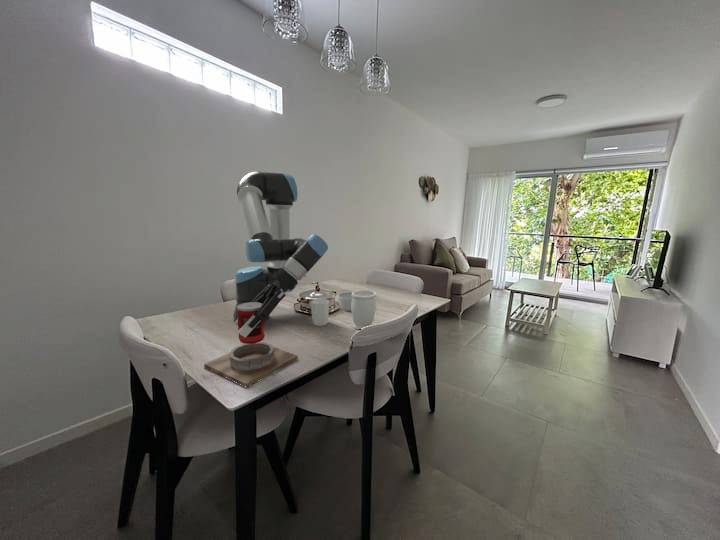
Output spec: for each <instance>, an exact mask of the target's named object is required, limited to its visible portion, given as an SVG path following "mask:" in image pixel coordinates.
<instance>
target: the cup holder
mask: <svg viewBox="0 0 720 540" xmlns="http://www.w3.org/2000/svg"><path fill="white" fill-rule="evenodd" d="M296 359H297V360H299V356H298V355H297V354H294V353H292V352H289V351H286V350H283V349H280V348H277V347H275V346H273V344H271V343H268V342H265V341H263V342H262V341H260V342H258V343H253V344H245V343H242V344H240V345H237V346H236V347H234V348H233V349H231V350H230V352H229V353H226V354H224V355H222V356H220V357H217V358H214V359H212V360H209V361H207V362H205V363H204V364H203V368H205V367H206V368H205V369H207V368H208V369H207V370H209V369H210V371H211V370H212V371H211V372H213V371H214V372H213V373H215V372H216V373H215V374H217V373H218V374H217V375H219V374H220V375H219V376H221V375H222V376H221V377H223V376H224V377H223V378H225V377H227V378H229V379H231V380H233V381H235V382H237V383H239V384H241V385H243V386H246V387H247V386H249V385H251V384H253V383H254V382H256V381H258V380H260V379H262V378H263V379H265V378H266V376H267V377H268V375H269V376H270V375H272V374H274V373H275V371H276V372H277V371H279V370H281V369H282V367H283V368H284V367H286V366H288V365H289V363H290V364H292V363H293V362H295V361H297V360H296ZM294 360H295V361H294ZM292 361H293V362H292ZM291 362H292V363H291ZM280 368H281V369H280ZM278 369H279V370H278ZM273 372H274V373H273ZM264 377H265V378H264ZM227 378H226V379H227ZM229 379H228V380H229ZM263 379H262V380H263ZM231 380H230V381H231ZM233 381H232V382H233ZM260 381H261V380H260ZM235 382H234V383H235ZM258 382H259V381H258ZM237 383H236V384H237ZM256 383H257V382H256ZM239 384H238V385H239ZM254 384H255V383H254ZM254 384H253V385H254ZM241 385H240V386H241ZM243 386H242V387H243ZM251 386H252V385H251ZM249 387H250V386H249ZM247 388H248V387H247Z"/></svg>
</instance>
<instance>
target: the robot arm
mask: <svg viewBox="0 0 720 540" xmlns="http://www.w3.org/2000/svg"><path fill="white" fill-rule="evenodd" d="M236 195H237V199H238V201H239V202H240V204H241V206H242V210H243V215H244V218H245V222H246V228H247V231H248V236H249V240H247V241H246V242H245V253H246V254H245V255H246V260H247V261H248V262H249V263H266V262H267V265H266V266H267V267H266V269H264V268H263V266H260V265H257V266H247V267H243V268H240V269H238V270H237V271H236V272H235V274H234V275H235V278H234V279H235V280H234V283H235V297H236V305H235V307H234V312H233V314H232V319H233V322H234V324H235V325H236V326H238V318H237V306H238V305H240V304H243V303H247V302H259V303H262V306H261V307H260V308H259V310H258V311H257V313H253V316H252V317H251V318H250V319H249V320H248V321H247V322H246V323H245V324H244V325H243V326H242V328H241V329H240V330H239V331H238V330H237V334H238V335H239V334H240V335H242V336H243V337H246V336H247V335H248V334H249V333H250V332H251V331H252V330H253V329H254V327H255V326H256V325H257V324H258V323H259V322H260V321H262V320H263V321H264V322H265V321H266V320H267V319H268V318H269V316H270V315H271V314H272V312H273V311H274V310H275V308H276V307H277V306H278V305H279V303H280V302H281V301H283V299H285V297H286V296H287V294H286V293H291V292H293V291H294V290H295V288H296V286H298V284H299V282H300V281H302V279H303V278H305V277H307V275H306V274H308V273H309V272H310V271H311V269H312V268H313V267H314V266H315V265H316V264H317V262H319V260H320V259H321V258H323V256H324V255H325V254H326V253H327V251H328V250H329V246H328V244H327V242H326V241H325V240H324V238H322V237H321V236H320V235H318V234H316V233H312V234H311V235H309V236H308V237H306V239H304V238H299V237H298V238H293V239H291V238H290V233H291V232H290V231H291V230H290V210H291V208H292V207H294V203H295V202H296V201H297V200H298V186H297V183H296V180H295V177H294V176H292V175H291V174H286V173H281V172H279V173H278V172H268V171H267V172H265V171H251V172H249V173H246V175H244V176H243V177H242V178H241V179H240V181H239V183H238V184H237V187H236ZM263 201H265V205H266V206H267V207H268V209H269V220H268V216H267V213H266V211H265V210H266V209H265V207H264V203H263ZM298 281H299V282H298Z"/></svg>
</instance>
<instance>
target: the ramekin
mask: <svg viewBox="0 0 720 540" xmlns="http://www.w3.org/2000/svg"><path fill="white" fill-rule="evenodd" d="M352 292H353V291H347V292H341V293H338V295H337V298H338V306H339V308H340V310H342V311H345V310H346V311H347V312H352V311H351V303H352V298H353V297H352ZM346 311H345V312H346Z"/></svg>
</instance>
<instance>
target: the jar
mask: <svg viewBox="0 0 720 540" xmlns="http://www.w3.org/2000/svg"><path fill="white" fill-rule="evenodd" d="M351 292H352V297H353V298H352V303H351V311H350V312H351V317H352V320H353V328H354V329H355V330H359V329H361V328H363V327H366V326H369V325H373V321H374V319H375V314H376V306H377V303H376V297H377V293H376V292H375V291H370V290H355V291H351ZM359 331H360V330H359Z"/></svg>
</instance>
